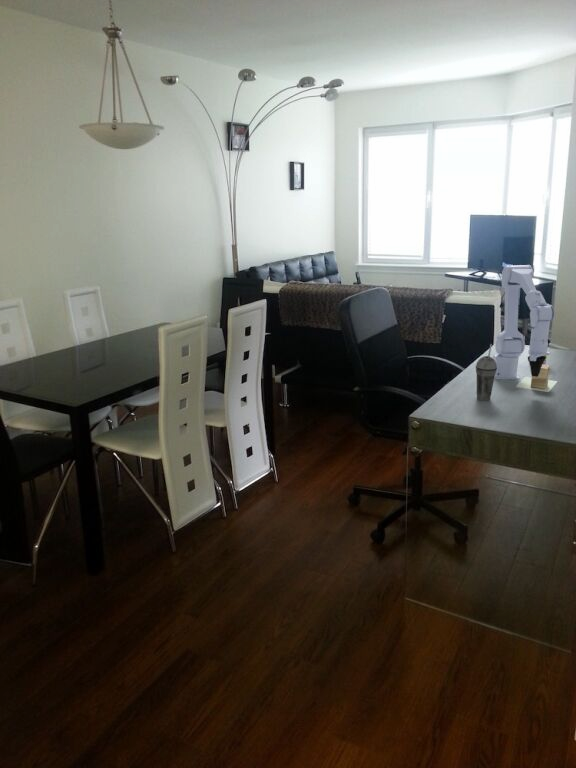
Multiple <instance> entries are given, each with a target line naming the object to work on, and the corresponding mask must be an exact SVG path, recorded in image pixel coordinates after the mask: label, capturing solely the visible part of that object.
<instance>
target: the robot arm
mask: <svg viewBox="0 0 576 768" xmlns="http://www.w3.org/2000/svg"><path fill="white" fill-rule="evenodd" d="M533 276H534V270H533V267H532V266H531V265H530V264H526V265H525V264H524V265H522V264H519V265H518V264H517V265H508V264H506V265H504V267H503V269H502V271H501V287H502V288H504V319H503V320H504V324H503V325H504V327H503V328H504V329H503V330H502V331H501V332H500V333H498V334H497V335H496V341H495V346H494V347H495V352H496V353H497V354H494V355H493V356H492V358H493V359H494V360H495V362H496V364H497V370H496V373H495V377H494V380H520V379H521V378H520V377H519V376H518V368H519V367H518V366H519V358H520V357H521V355H522V354H523V353H524V351H525V349H526V348H525V347H526V343H525V341H524V340H525V339H524V337H525V336H524V334H522V333H521V332H520V331H519V330H518V329H519V327H518V325H519V321H518V320H519V293H520V291H519V290H520V289H522V290H523V291H524V293H525V294H526V295H525V303H526V305H527V306H528V308H529V310H530V312H529V317H530V326H531V330H530V331H531V333H530V341H529V347H528V348H529V349H528V356H527V361H528V364H529V367H530V375H531V377H532V376H535V377H538V375H539V373H540V370H541V367H542V364H543V362H544V361H545V359H546V360H547V357H546V356H544V355H547V356H549V355H550V354H551V352H550V351H548V348H547V342H548V341H549V331H550V324H551V322H553V320H554V318H555V308H554V306H553V305H552V304H549V303H547V302H546V300H545V297H544V295H543V294H542V291H540V290H537V289H536V286H535V283H534V281H533Z"/></svg>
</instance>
